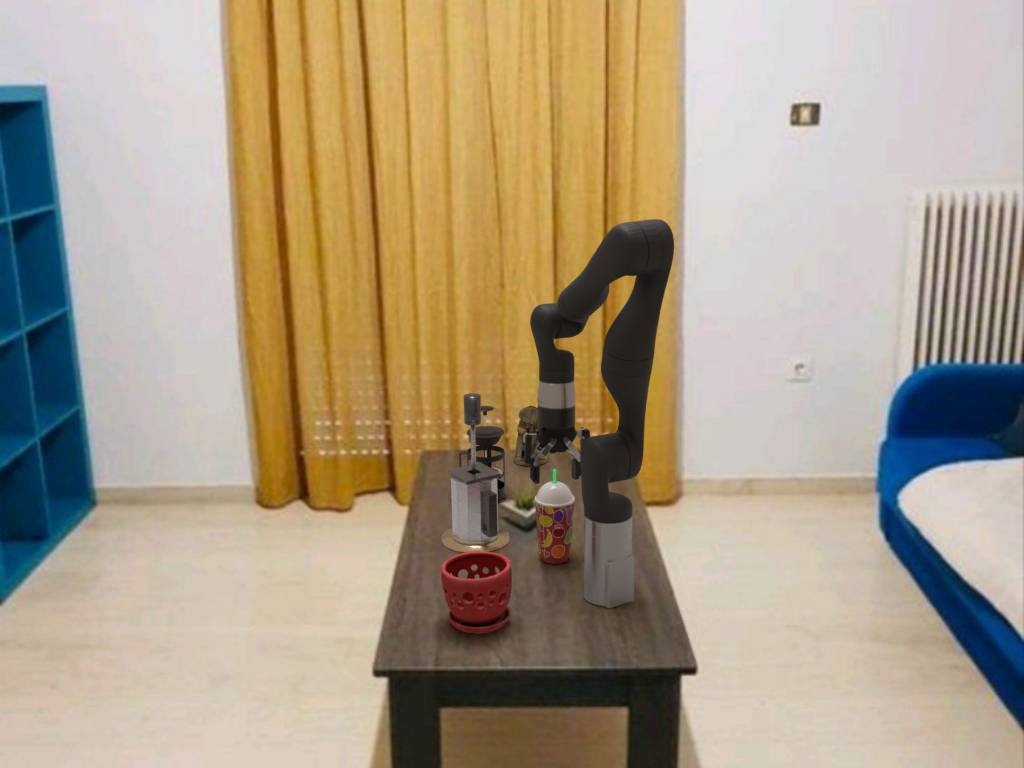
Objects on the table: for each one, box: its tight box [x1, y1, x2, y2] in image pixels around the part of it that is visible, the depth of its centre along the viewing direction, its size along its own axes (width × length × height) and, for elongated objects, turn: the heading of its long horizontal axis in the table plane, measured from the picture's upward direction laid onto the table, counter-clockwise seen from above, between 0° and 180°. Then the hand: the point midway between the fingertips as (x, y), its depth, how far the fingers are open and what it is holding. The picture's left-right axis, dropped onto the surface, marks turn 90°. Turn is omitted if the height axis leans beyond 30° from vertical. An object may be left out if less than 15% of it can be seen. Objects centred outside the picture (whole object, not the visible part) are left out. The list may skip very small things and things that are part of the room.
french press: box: [458, 405, 507, 502], centre depth 264 cm, size 12×9×23 cm
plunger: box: [463, 393, 482, 474], centre depth 237 cm, size 8×8×22 cm
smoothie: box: [534, 468, 576, 565], centre depth 230 cm, size 8×8×20 cm
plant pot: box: [440, 551, 513, 635], centre depth 205 cm, size 13×13×12 cm
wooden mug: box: [513, 405, 548, 467], centre depth 287 cm, size 9×14×18 cm, turn 0°
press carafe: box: [441, 462, 511, 553], centre depth 241 cm, size 15×15×16 cm
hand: (555, 480), depth 223 cm, fingers open, 8 cm apart
